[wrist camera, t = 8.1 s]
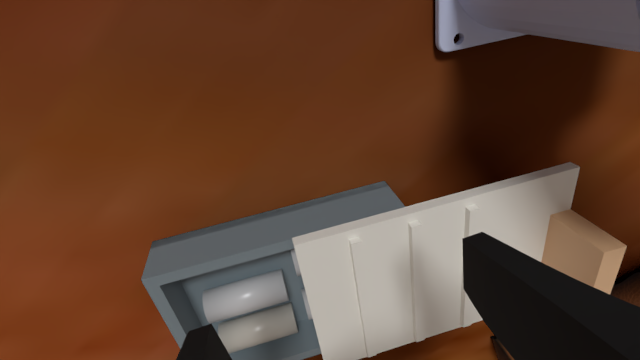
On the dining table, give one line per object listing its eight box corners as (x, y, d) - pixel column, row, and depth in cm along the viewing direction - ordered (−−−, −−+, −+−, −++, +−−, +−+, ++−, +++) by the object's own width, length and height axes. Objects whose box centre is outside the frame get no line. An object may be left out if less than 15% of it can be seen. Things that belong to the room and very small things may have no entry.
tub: (384, 181, 20) (406, 207, 18) (393, 291, 25) (411, 325, 22) (152, 241, 19) (141, 280, 17) (206, 347, 24) (203, 390, 21)
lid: (549, 151, 20) (643, 199, 15) (527, 276, 25) (594, 341, 20) (287, 221, 18) (307, 297, 14) (318, 341, 23) (340, 427, 18)
